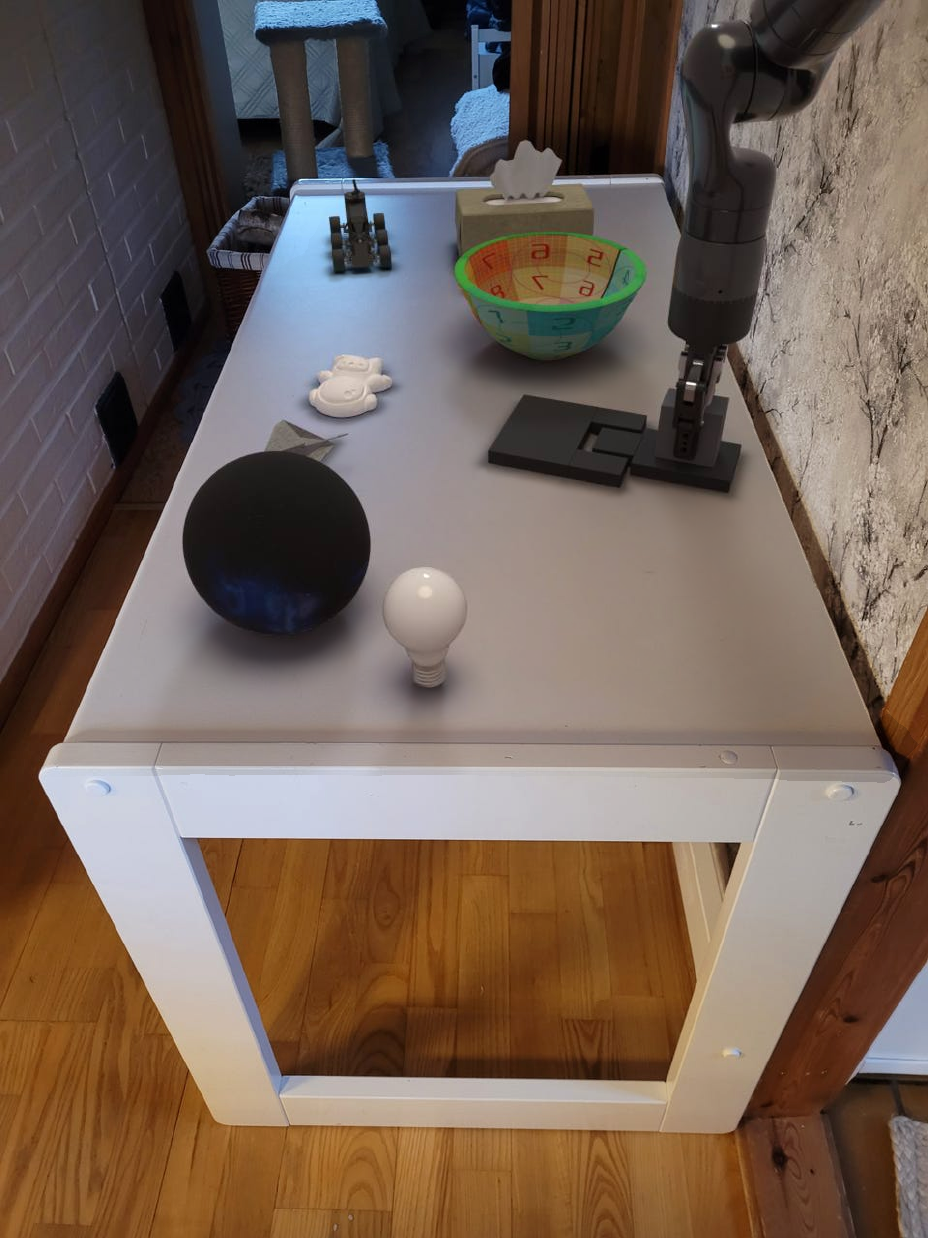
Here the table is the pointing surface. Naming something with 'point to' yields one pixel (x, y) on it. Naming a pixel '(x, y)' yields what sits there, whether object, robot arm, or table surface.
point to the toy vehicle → (359, 235)
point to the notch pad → (562, 439)
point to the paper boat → (298, 441)
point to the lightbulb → (425, 619)
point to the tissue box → (522, 201)
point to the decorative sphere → (276, 542)
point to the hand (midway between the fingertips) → (689, 442)
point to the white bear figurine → (349, 386)
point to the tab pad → (664, 467)
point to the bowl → (549, 290)
